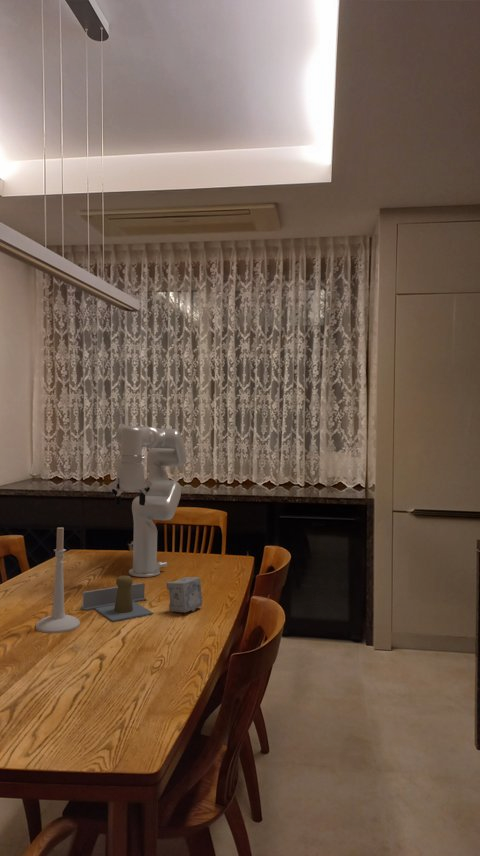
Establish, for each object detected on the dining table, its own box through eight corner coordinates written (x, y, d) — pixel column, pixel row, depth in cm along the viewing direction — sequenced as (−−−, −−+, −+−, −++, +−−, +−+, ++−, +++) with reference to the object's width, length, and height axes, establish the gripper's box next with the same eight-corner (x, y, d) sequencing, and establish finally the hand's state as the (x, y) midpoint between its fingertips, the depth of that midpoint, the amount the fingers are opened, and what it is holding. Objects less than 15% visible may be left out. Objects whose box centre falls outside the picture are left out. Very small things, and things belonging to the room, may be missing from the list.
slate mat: (133, 603, 204) (133, 601, 204) (153, 614, 192) (153, 612, 192) (94, 609, 195) (94, 608, 195) (112, 622, 184) (112, 620, 184)
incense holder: (183, 604, 205) (183, 573, 204) (203, 608, 200) (203, 577, 200) (165, 611, 196) (165, 579, 196) (185, 616, 192) (186, 584, 192)
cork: (135, 607, 197) (136, 574, 197) (129, 613, 191) (130, 579, 191) (117, 606, 198) (118, 573, 197) (111, 612, 192) (112, 578, 191)
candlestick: (88, 621, 184) (90, 524, 184) (63, 635, 172) (65, 531, 172) (53, 616, 188) (55, 521, 188) (26, 629, 176) (28, 528, 176)
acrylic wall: (140, 597, 210) (141, 581, 210) (146, 600, 207) (146, 584, 207) (80, 607, 197) (81, 590, 197) (85, 611, 194) (85, 593, 194)
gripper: (147, 459, 231) (146, 503, 231) (105, 459, 220) (104, 506, 221) (156, 460, 225) (155, 505, 225) (113, 461, 214) (112, 508, 215)
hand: (130, 505), depth 223 cm, fingers open, 9 cm apart
